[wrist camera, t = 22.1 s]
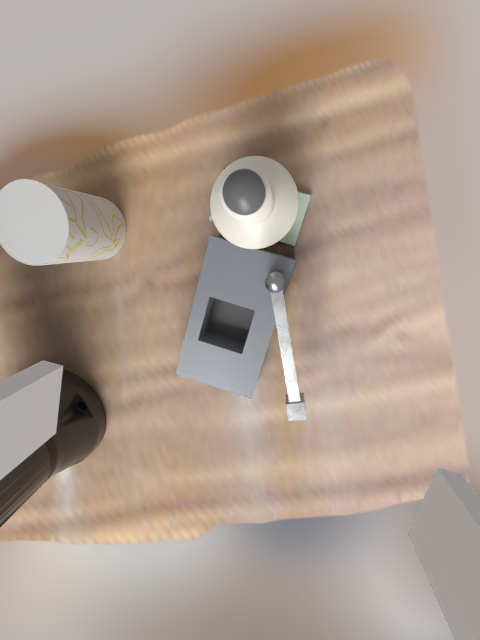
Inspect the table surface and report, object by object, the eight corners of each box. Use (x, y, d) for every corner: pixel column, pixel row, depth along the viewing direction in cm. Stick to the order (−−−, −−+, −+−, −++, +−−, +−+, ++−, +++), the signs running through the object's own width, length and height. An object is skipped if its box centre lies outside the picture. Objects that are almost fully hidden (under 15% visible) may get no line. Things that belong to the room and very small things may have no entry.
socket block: (186, 360, 47) (175, 374, 42) (218, 236, 42) (209, 235, 37) (255, 382, 46) (251, 399, 41) (294, 258, 42) (295, 261, 37)
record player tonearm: (288, 404, 40) (288, 421, 37) (265, 271, 37) (263, 275, 33) (305, 402, 40) (307, 419, 36) (283, 268, 37) (283, 271, 33)
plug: (231, 158, 39) (202, 113, 25) (307, 179, 39) (319, 145, 25) (212, 236, 42) (175, 233, 28) (283, 257, 41) (281, 265, 27)
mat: (210, 221, 42) (208, 220, 41) (222, 171, 40) (221, 170, 40) (294, 245, 41) (294, 245, 40) (310, 196, 40) (310, 195, 39)
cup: (125, 263, 45) (69, 270, 33) (68, 256, 46) (-6, 260, 34) (127, 199, 43) (68, 183, 31) (68, 193, 44) (-11, 175, 32)
